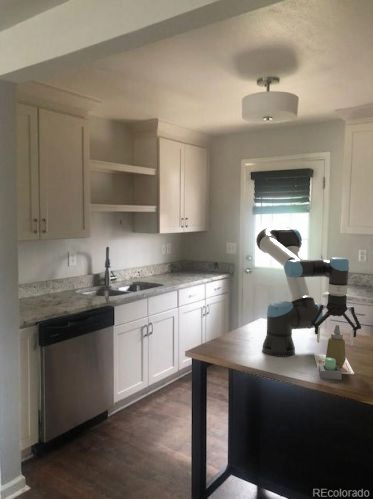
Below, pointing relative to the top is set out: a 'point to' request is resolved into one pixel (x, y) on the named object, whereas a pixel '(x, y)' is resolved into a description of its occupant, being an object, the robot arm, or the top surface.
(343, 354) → the squeeze bottle
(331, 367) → the button
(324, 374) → the button collar
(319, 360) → the picture sheet
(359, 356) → the top surface
